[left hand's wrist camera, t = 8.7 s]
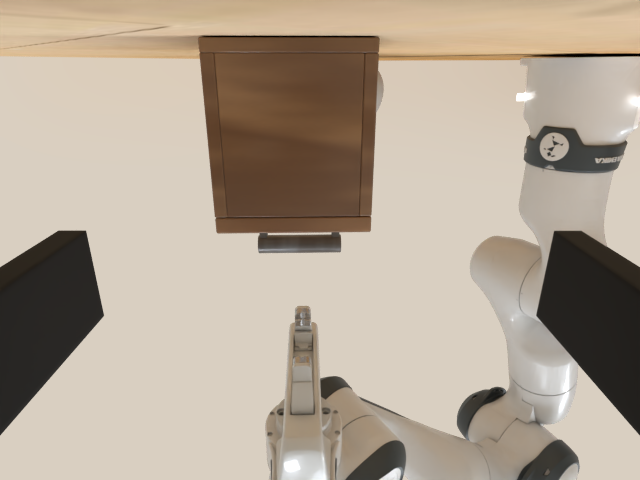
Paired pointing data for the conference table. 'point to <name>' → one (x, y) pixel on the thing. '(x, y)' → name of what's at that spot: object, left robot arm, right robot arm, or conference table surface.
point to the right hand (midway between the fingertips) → (302, 332)
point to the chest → (290, 124)
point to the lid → (295, 231)
